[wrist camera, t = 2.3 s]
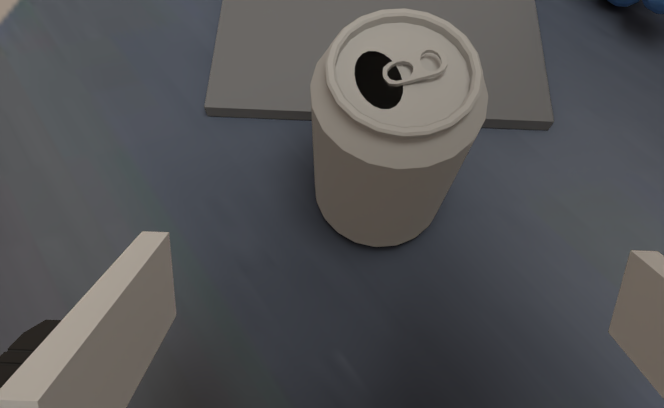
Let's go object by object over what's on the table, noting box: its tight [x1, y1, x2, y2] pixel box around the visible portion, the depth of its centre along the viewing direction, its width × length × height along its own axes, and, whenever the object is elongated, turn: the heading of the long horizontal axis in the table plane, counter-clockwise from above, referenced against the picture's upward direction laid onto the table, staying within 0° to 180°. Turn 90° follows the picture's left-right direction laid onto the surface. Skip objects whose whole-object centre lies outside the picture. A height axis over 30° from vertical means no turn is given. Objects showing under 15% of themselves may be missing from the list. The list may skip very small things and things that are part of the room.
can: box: [310, 8, 488, 247], centre depth 25 cm, size 8×8×12 cm
